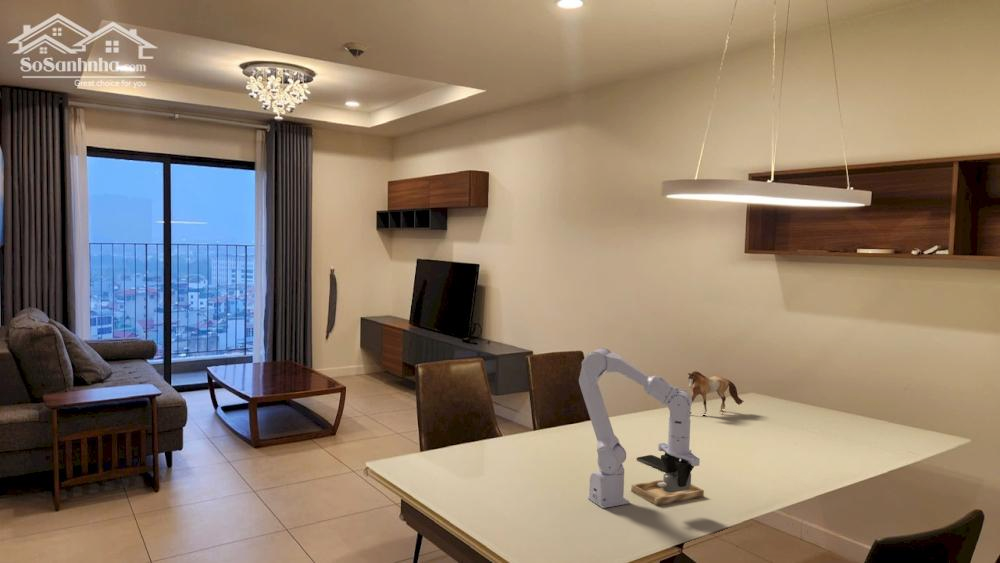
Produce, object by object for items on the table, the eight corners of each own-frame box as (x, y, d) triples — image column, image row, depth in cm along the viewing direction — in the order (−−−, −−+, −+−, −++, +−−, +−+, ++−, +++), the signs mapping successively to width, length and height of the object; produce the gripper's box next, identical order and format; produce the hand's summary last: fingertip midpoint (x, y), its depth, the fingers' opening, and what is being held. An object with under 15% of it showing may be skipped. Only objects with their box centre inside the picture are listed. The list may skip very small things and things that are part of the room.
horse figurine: (688, 419, 275) (690, 372, 274) (677, 414, 282) (679, 369, 281) (744, 413, 286) (746, 369, 285) (732, 409, 294) (733, 366, 293)
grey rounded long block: (663, 494, 169) (663, 479, 168) (654, 489, 172) (655, 475, 172) (693, 488, 173) (694, 474, 173) (684, 484, 176) (685, 470, 176)
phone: (667, 471, 205) (635, 457, 218) (667, 474, 205) (635, 460, 218) (684, 467, 209) (651, 454, 222) (683, 471, 209) (651, 457, 222)
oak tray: (656, 505, 178) (656, 498, 178) (631, 491, 188) (631, 484, 188) (703, 497, 185) (703, 490, 185) (677, 483, 196) (677, 477, 196)
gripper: (709, 441, 167) (706, 490, 168) (672, 426, 180) (670, 473, 181) (688, 443, 164) (686, 494, 165) (653, 429, 177) (651, 476, 178)
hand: (677, 483), depth 173 cm, fingers closed on grey rounded long block, 4 cm apart
